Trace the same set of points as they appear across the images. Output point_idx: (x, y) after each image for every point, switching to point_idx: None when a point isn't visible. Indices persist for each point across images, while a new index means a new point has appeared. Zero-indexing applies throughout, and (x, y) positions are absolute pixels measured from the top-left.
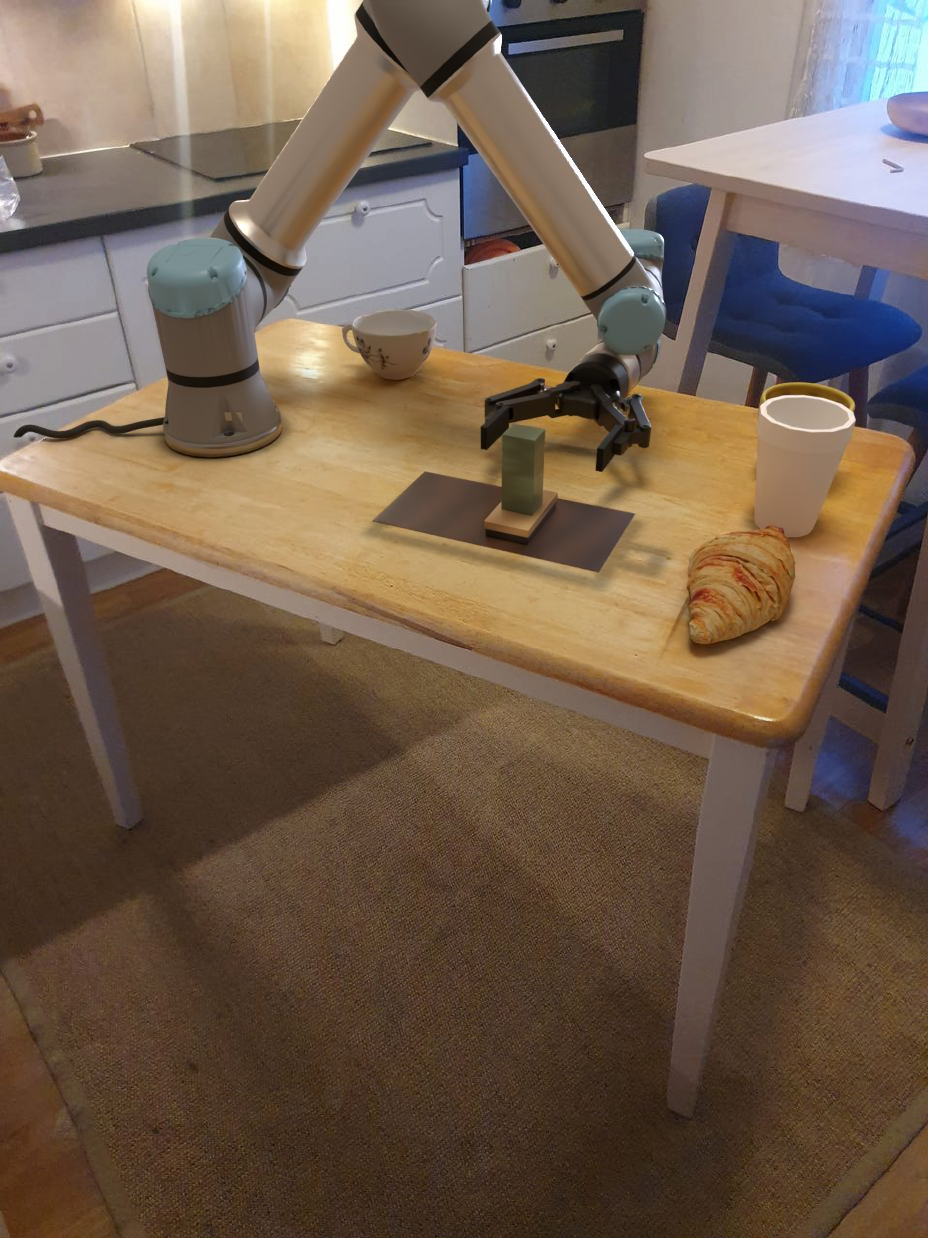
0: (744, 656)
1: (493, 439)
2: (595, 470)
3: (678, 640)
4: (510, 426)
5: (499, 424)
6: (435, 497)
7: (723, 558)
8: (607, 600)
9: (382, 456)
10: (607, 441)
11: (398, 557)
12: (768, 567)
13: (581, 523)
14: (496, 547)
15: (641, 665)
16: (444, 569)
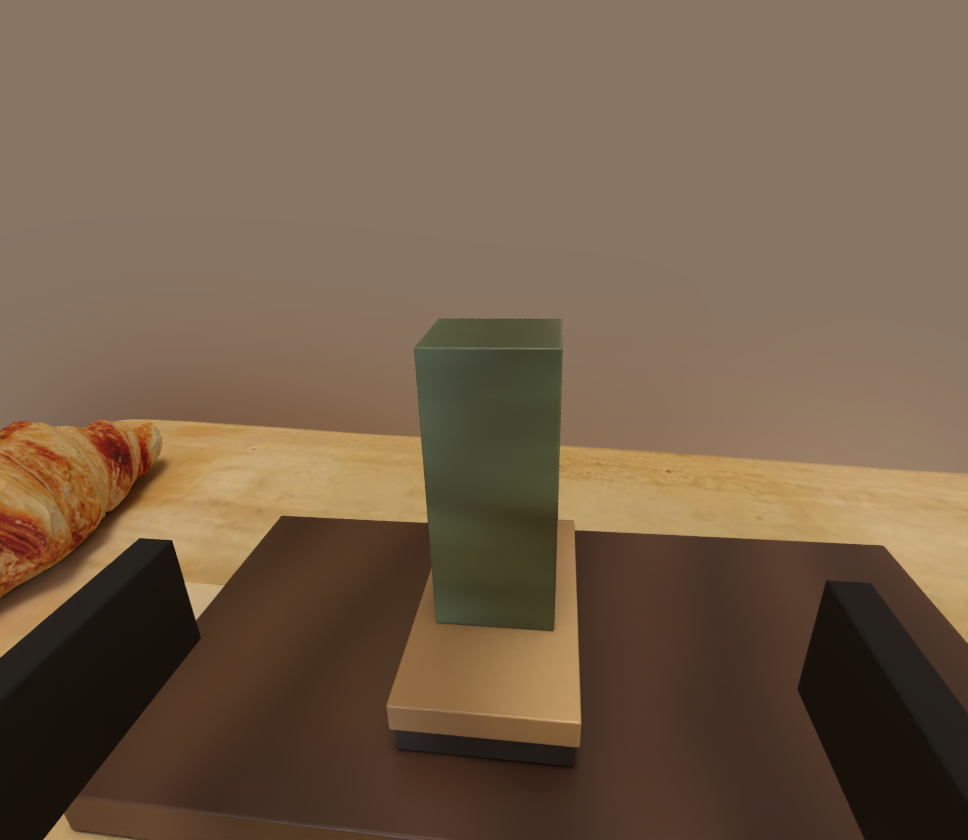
0: None
1: (843, 760)
2: (200, 636)
3: (175, 475)
4: (559, 337)
5: (922, 827)
6: None
7: (4, 452)
8: (274, 515)
9: None
10: (76, 603)
11: (727, 524)
12: None
13: (301, 670)
14: None
15: (250, 440)
16: (611, 516)
